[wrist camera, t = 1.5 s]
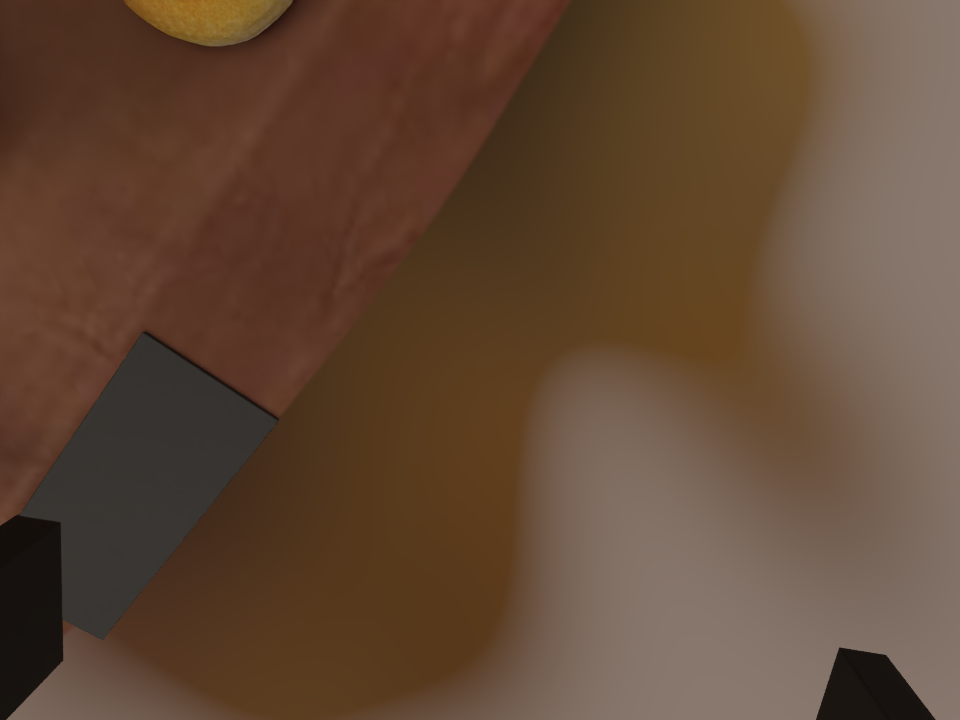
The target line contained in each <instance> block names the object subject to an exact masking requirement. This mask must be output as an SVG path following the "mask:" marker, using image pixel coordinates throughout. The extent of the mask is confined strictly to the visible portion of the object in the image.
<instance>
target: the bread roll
mask: <svg viewBox="0 0 960 720" xmlns="http://www.w3.org/2000/svg"><path fill="white" fill-rule="evenodd" d="M123 1H124V2H125V3H126V5H127V6H128V7H129V8H131V9H132V10H133V11H134V12H135V13H136V14H138V15H139V16H140V17H141V18H143V19H144V20H145V21H147V22H148V23H149V24H151V25H152V26H154V27H155V28H157V29H159V30H160V31H162V32H164V33H166V34H168V35H170V36H173V37H176V38H179V39H182V40H185V41H188V42H192V43H196V44H200V45H204V46H226V45H233V44H237V43H240V42H244V41H248V40H249V39H251V38H253V37H255V36H257V35H259V34H260V33H261V32H262V31H263V30H265V29H266V28H268V27H269V26H270V25H271V24H272V23H273V22H274V21H276V20H277V19H278V18H279V17H280V16H281V15H282V14H283V13H284V12H285V10H286V9H287V8H288V7H289V6H290V5H291V3H292V2H293V0H123Z"/></svg>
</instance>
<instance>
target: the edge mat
mask: <svg viewBox="0 0 960 720" xmlns="http://www.w3.org/2000/svg"><path fill="white" fill-rule="evenodd" d="M278 421H279V419H277V418H276V417H274V416H273V415H271V414H270V413H268V412H267V411H265V410H264V409H262V408H261V407H259V406H257V405H256V404H254V403H253V402H251V401H250V400H248V399H247V398H245V397H244V396H242V395H241V394H239V393H238V392H236V391H235V390H233V389H232V388H230V387H228V386H227V385H225V384H224V383H222V382H221V381H219V380H218V379H216V378H215V377H213V376H212V375H210V374H209V373H207V372H206V371H204V370H203V369H201V368H199V367H198V366H196V365H195V364H193V363H192V362H190V361H189V360H187V359H186V358H184V357H183V356H181V355H180V354H178V353H177V352H175V351H174V350H172V349H170V348H169V347H167V346H166V345H164V344H163V343H161V342H160V341H158V340H157V339H155V338H154V337H152V336H151V335H149V334H148V333H146V332H143V333H142V334H141V336H140V337H139V339H138V340H137V342H136V343H135V345H134V346H133V348H132V349H131V351H130V352H129V354H128V355H127V357H126V358H125V360H124V361H123V363H122V364H121V365H120V367H119V368H118V370H117V371H116V373H115V374H114V376H113V377H112V379H111V380H110V382H109V383H108V385H107V386H106V388H105V389H104V391H103V392H102V394H101V395H100V397H99V398H98V400H97V401H96V403H95V404H94V406H93V407H92V408H91V410H90V411H89V413H88V414H87V416H86V417H85V419H84V420H83V422H82V423H81V425H80V426H79V428H78V429H77V431H76V432H75V434H74V435H73V437H72V438H71V440H70V441H69V443H68V444H67V446H66V447H65V448H64V450H63V451H62V453H61V454H60V456H59V457H58V459H57V460H56V462H55V463H54V465H53V466H52V468H51V469H50V471H49V472H48V474H47V475H46V477H45V478H44V480H43V481H42V483H41V484H40V486H39V487H38V489H37V490H36V491H35V493H34V494H33V496H32V497H31V499H30V500H29V502H28V503H27V505H26V506H25V508H24V509H23V511H22V512H21V514H20V515H19V516H25V517H31V518H37V519H44V520H50V521H56V522H61V564H62V620H64V621H66V622H68V623H70V624H72V625H74V626H76V627H78V628H80V629H82V630H84V631H86V632H88V633H90V634H92V635H94V636H95V637H97V638H100V639H101V640H103V639H104V638H105V636H106V635H107V634H108V633H109V631H110V630H111V629H112V628H113V626H114V625H115V624H116V623H117V621H118V620H119V619H120V618H121V616H122V615H123V614H124V613H125V611H126V610H127V609H128V608H129V607H130V605H131V604H132V603H133V602H134V600H135V599H136V598H137V597H138V595H139V594H140V593H141V592H142V590H143V589H144V588H145V587H146V585H147V584H148V583H149V582H150V580H151V579H152V578H153V577H154V575H155V574H156V573H157V572H158V570H159V569H160V568H161V567H162V565H163V564H164V563H165V561H166V560H167V559H168V558H169V557H170V555H171V554H172V553H173V552H174V550H175V549H176V548H177V547H178V546H179V544H180V543H181V542H182V541H183V539H184V538H185V537H186V536H187V534H188V533H189V532H190V531H191V529H192V528H193V527H194V525H195V524H196V523H197V522H198V521H199V519H200V518H201V517H202V516H203V514H204V513H205V512H206V511H207V509H208V508H209V507H210V506H211V504H212V503H213V502H214V501H215V500H216V498H217V497H218V496H219V495H220V493H221V492H222V491H223V490H224V488H225V487H226V486H227V485H228V483H229V482H230V481H231V479H232V478H233V477H234V476H235V475H236V473H237V472H238V471H239V470H240V468H241V467H242V466H243V465H244V463H245V462H246V461H247V460H248V458H249V457H250V456H251V455H252V453H253V452H254V451H255V450H256V448H257V447H258V446H259V445H260V444H261V442H262V441H263V440H264V439H265V437H266V436H267V435H268V434H269V432H270V431H271V430H272V429H273V427H274V426H275V425H276V424H277V422H278Z"/></svg>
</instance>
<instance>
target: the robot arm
mask: <svg viewBox="0 0 960 720" xmlns="http://www.w3.org/2000/svg"><path fill="white" fill-rule="evenodd" d="M62 661H63V622H62V564H61V522H56V521H50V520H44V519H37V518H31V517H25V516H19V515H16V516H15V517H13V518H12V519H10V520H8V521H7V522H5V523H4V524H2V525H1V526H0V720H6V719H7V718H8V717H9V716H10V715H11V714H12V713H13V712H14V711H15V710H16V709H17V708H18V707H19V706H20V705H21V704H22V703H23V702H24V701H25V699H26V698H27V697H28V696H29V695H30V694H31V693H32V692H33V691H34V690H35V689H36V688H37V687H38V686H39V685H40V684H41V683H42V682H43V681H44V680H45V679H46V678H47V677H48V676H49V674H50V673H51V672H52V671H53V670H54V669H55V668H56V667H57V666H58V665H59V664H60V663H61V662H62ZM816 720H935V718H934V717H933V716H932V714H931V713H930V712H929V711H928V709H927V708H926V707H925V705H924V704H923V703H922V702H921V700H920V699H919V698H918V696H917V695H916V694H915V692H914V691H913V690H912V688H911V687H910V686H909V684H908V683H907V682H906V680H905V679H904V678H903V677H902V675H901V674H900V673H899V671H898V670H897V669H896V668H895V666H894V665H893V664H892V662H891V661H890V660H889V658H888V657H887V656H886V655H882V654H876V653H870V652H864V651H857V650H851V649H845V648H839V650H838V653H837V656H836V659H835V662H834V666H833V669H832V672H831V675H830V679H829V681H828V684H827V688H826V690H825V693H824V697H823V700H822V703H821V706H820V709H819V712H818V715H817V718H816Z"/></svg>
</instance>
